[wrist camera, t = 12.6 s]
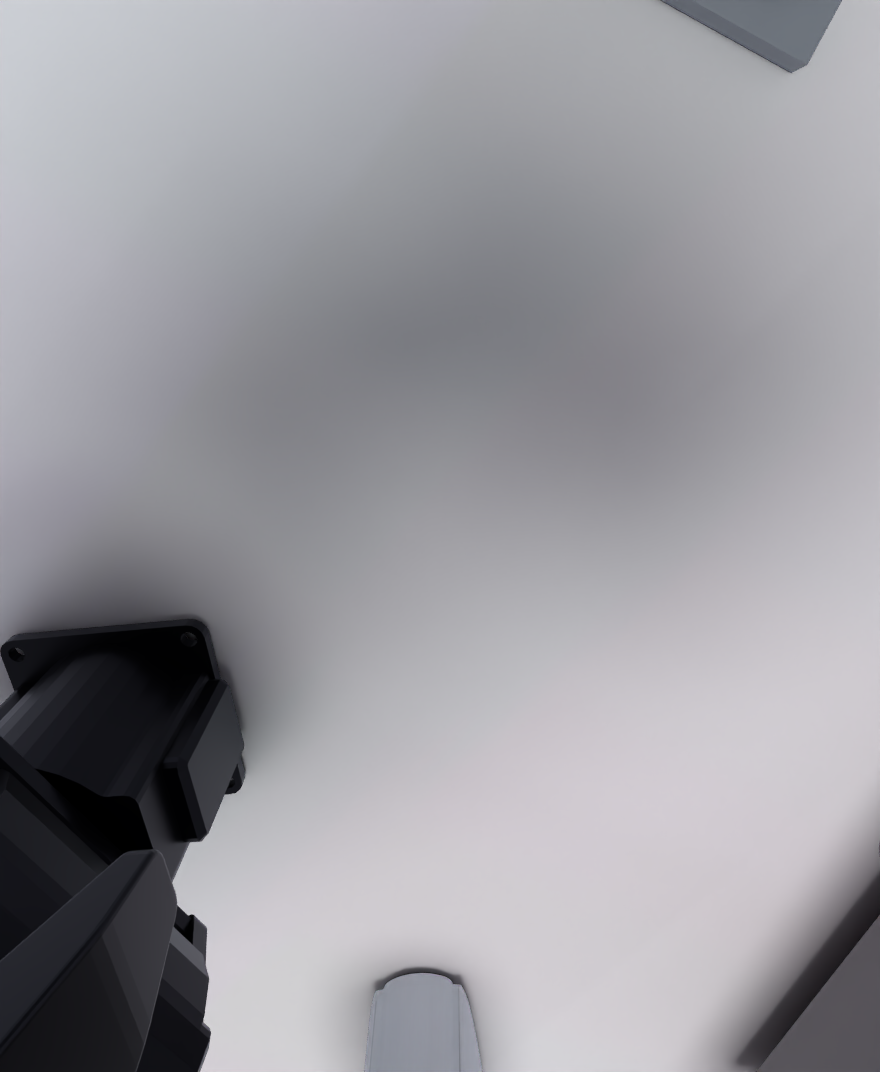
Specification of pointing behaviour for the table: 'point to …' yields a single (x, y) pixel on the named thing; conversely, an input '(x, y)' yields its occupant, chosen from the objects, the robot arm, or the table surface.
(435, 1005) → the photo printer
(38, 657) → the robot arm
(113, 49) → the table surface
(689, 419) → the table surface
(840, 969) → the organizer tray
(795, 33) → the dish rack
